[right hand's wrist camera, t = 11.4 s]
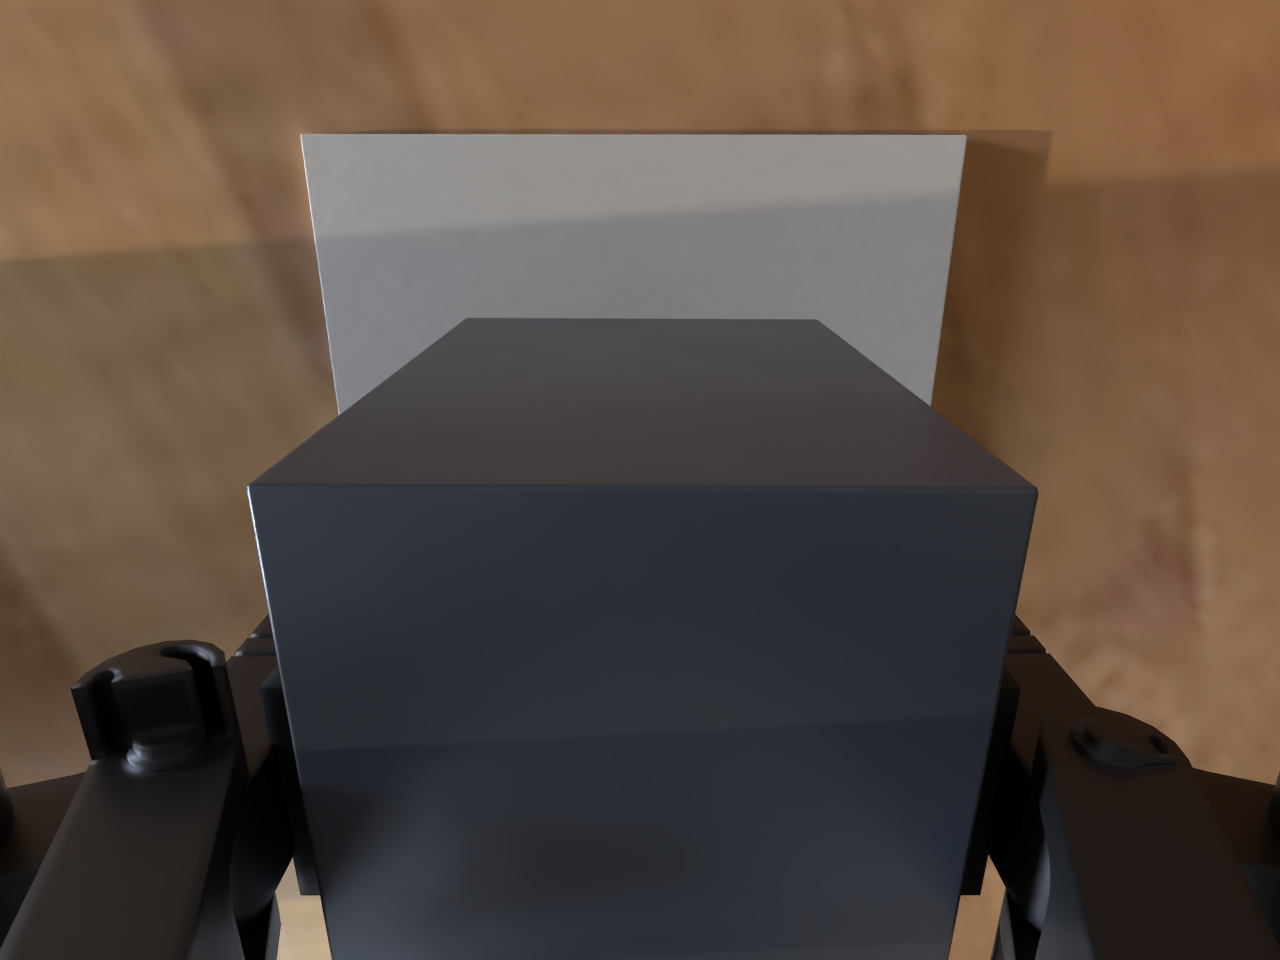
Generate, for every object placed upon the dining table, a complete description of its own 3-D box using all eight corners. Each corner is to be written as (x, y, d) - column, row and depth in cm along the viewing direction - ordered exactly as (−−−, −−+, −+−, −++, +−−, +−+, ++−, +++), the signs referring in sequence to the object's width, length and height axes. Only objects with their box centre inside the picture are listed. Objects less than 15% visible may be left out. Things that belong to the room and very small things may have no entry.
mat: (448, 1184, 30) (445, 1197, 29) (306, 134, 17) (299, 133, 17) (822, 1183, 30) (825, 1196, 29) (961, 135, 17) (968, 134, 17)
